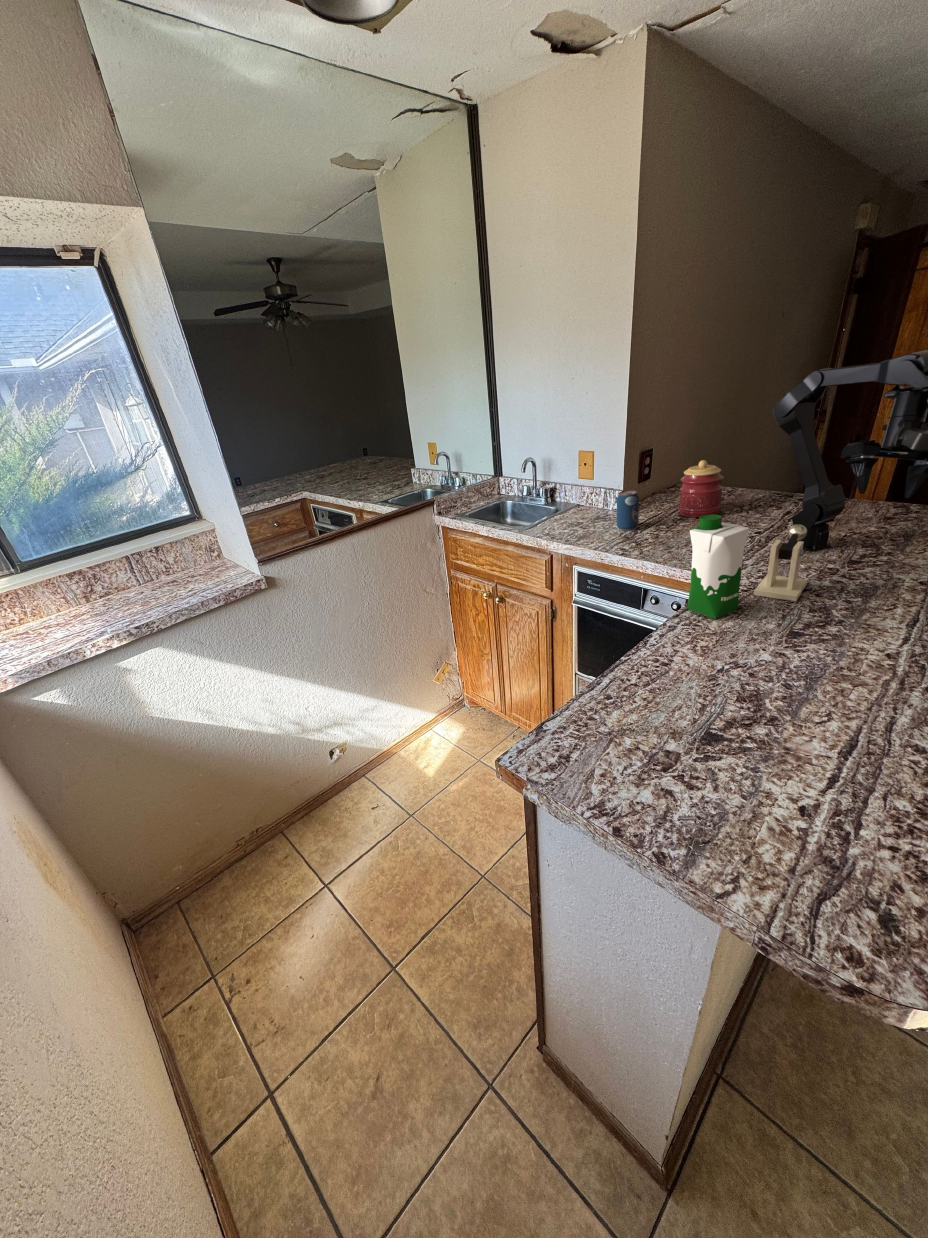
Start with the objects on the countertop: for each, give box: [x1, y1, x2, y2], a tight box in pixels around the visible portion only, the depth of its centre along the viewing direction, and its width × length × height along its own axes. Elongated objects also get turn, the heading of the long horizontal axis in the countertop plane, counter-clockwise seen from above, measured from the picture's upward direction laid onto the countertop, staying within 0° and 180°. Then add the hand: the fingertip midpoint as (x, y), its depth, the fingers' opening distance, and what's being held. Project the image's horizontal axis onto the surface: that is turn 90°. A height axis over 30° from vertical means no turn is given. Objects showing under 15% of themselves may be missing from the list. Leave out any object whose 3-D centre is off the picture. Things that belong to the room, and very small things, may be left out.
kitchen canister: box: [678, 459, 725, 518], centre depth 162 cm, size 13×13×18 cm
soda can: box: [616, 490, 640, 532], centre depth 159 cm, size 7×7×12 cm
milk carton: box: [686, 514, 750, 620], centre depth 99 cm, size 9×9×20 cm
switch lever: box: [778, 524, 807, 561], centre depth 105 cm, size 12×4×4 cm, turn 138°
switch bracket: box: [753, 539, 808, 602], centre depth 104 cm, size 10×8×11 cm
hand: (884, 495), depth 102 cm, fingers open, 9 cm apart
